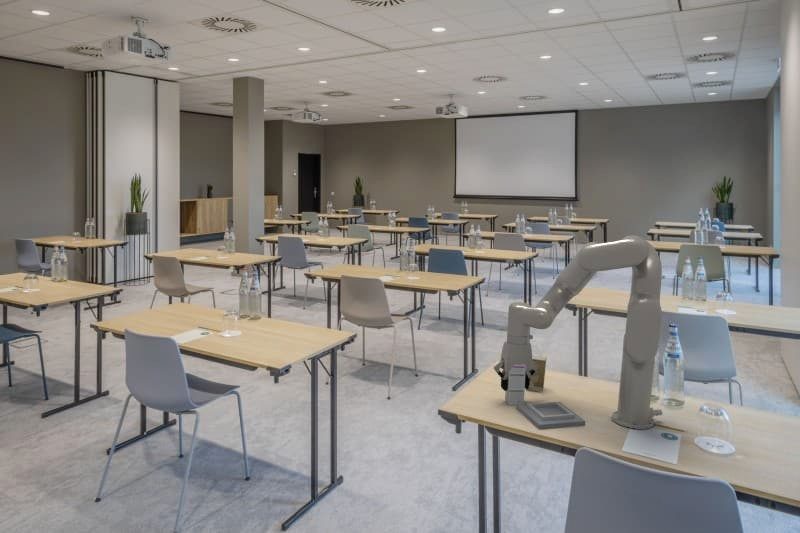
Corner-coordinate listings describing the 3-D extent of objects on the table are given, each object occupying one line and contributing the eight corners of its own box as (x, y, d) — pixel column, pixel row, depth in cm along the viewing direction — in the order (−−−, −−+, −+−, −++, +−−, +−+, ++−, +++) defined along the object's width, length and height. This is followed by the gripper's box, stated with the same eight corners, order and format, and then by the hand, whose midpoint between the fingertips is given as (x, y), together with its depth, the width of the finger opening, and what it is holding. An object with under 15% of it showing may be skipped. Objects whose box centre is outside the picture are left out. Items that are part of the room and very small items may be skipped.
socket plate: (559, 405, 199) (560, 398, 199) (585, 425, 184) (585, 417, 183) (516, 409, 195) (516, 401, 195) (538, 429, 180) (539, 421, 179)
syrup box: (524, 405, 199) (526, 364, 196) (506, 404, 199) (509, 363, 196) (521, 399, 204) (523, 359, 202) (504, 398, 204) (506, 358, 202)
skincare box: (525, 390, 213) (527, 357, 211) (526, 386, 217) (528, 354, 215) (543, 392, 211) (545, 360, 209) (544, 388, 215) (546, 356, 213)
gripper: (536, 335, 204) (533, 383, 206) (489, 337, 199) (487, 386, 202) (546, 341, 197) (543, 391, 199) (498, 343, 192) (495, 394, 195)
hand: (514, 388), depth 201 cm, fingers open, 7 cm apart
